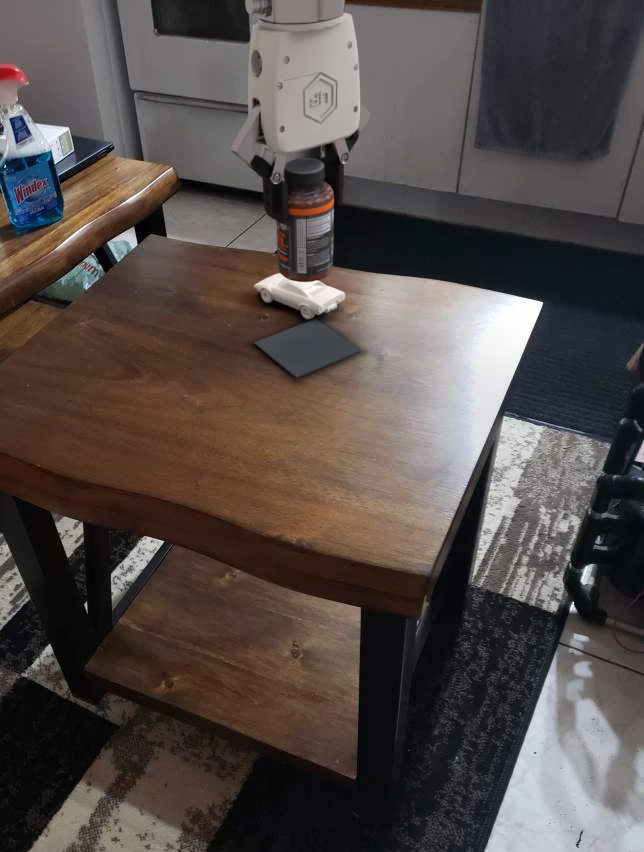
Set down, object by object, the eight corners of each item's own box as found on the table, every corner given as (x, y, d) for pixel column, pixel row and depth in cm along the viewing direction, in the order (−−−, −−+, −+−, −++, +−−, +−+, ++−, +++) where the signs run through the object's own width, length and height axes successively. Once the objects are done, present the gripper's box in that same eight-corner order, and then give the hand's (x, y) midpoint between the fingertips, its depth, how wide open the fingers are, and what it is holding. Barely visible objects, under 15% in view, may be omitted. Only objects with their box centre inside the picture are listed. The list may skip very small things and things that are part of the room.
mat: (315, 320, 93) (315, 318, 92) (360, 351, 87) (360, 350, 87) (254, 344, 89) (254, 342, 89) (296, 378, 84) (296, 376, 84)
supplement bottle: (271, 264, 83) (266, 158, 75) (321, 255, 84) (321, 149, 76) (288, 289, 79) (284, 179, 71) (341, 278, 80) (343, 169, 72)
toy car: (278, 282, 100) (277, 258, 98) (349, 309, 94) (349, 284, 91) (250, 297, 97) (248, 272, 95) (320, 326, 91) (321, 300, 89)
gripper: (237, 27, 59) (252, 246, 71) (407, -9, 65) (393, 199, 77) (191, 12, 63) (213, 220, 76) (354, -20, 70) (349, 178, 82)
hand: (304, 208), depth 77 cm, fingers closed on supplement bottle, 6 cm apart
